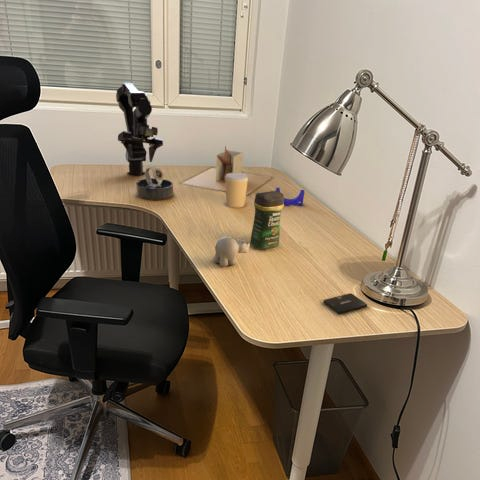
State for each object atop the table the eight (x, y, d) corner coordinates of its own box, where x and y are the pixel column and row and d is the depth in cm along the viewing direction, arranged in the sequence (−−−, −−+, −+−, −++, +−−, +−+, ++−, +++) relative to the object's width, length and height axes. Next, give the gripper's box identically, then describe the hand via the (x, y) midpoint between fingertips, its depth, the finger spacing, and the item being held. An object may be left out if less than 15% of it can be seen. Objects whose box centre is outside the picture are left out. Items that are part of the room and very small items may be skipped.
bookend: (215, 181, 220) (216, 145, 212) (224, 176, 229) (226, 141, 220) (232, 184, 218) (234, 147, 209) (241, 179, 227) (243, 143, 218)
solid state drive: (322, 302, 127) (323, 299, 127) (350, 295, 131) (351, 293, 131) (339, 314, 122) (339, 312, 122) (367, 306, 126) (368, 304, 126)
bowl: (151, 187, 206) (151, 176, 203) (180, 194, 200) (179, 182, 198) (129, 195, 194) (128, 183, 192) (158, 203, 189) (158, 191, 186)
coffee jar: (260, 252, 153) (265, 197, 143) (246, 243, 159) (250, 190, 149) (282, 247, 158) (289, 193, 148) (269, 239, 163) (274, 186, 154)
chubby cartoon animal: (254, 263, 146) (256, 238, 141) (221, 269, 140) (222, 243, 136) (242, 254, 151) (244, 229, 146) (210, 260, 145) (211, 235, 141)
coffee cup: (249, 203, 196) (252, 175, 189) (240, 209, 188) (242, 180, 182) (230, 199, 199) (231, 171, 192) (220, 205, 191) (221, 176, 185)
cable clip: (274, 204, 197) (275, 190, 193) (274, 201, 200) (276, 187, 197) (302, 207, 196) (304, 193, 193) (302, 203, 200) (304, 190, 197)
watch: (157, 197, 193) (156, 170, 188) (142, 193, 197) (141, 166, 191) (165, 193, 198) (165, 167, 192) (151, 190, 201) (150, 164, 195)
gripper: (128, 112, 186) (129, 152, 187) (168, 122, 197) (169, 159, 199) (116, 120, 195) (117, 158, 196) (156, 129, 206) (157, 165, 207)
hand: (141, 160), depth 199 cm, fingers open, 9 cm apart
